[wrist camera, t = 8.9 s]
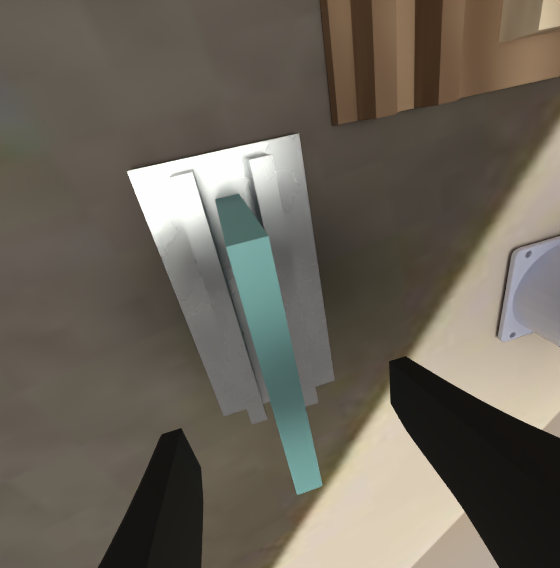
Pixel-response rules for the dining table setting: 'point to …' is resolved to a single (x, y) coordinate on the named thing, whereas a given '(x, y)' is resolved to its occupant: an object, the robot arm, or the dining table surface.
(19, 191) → the dining table surface
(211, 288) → the metal slot stand
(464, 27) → the walnut rack
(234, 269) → the teal board
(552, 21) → the lower birch offcut
